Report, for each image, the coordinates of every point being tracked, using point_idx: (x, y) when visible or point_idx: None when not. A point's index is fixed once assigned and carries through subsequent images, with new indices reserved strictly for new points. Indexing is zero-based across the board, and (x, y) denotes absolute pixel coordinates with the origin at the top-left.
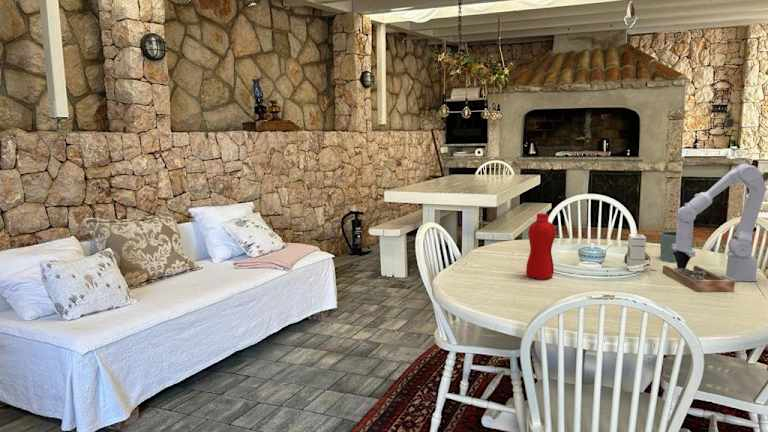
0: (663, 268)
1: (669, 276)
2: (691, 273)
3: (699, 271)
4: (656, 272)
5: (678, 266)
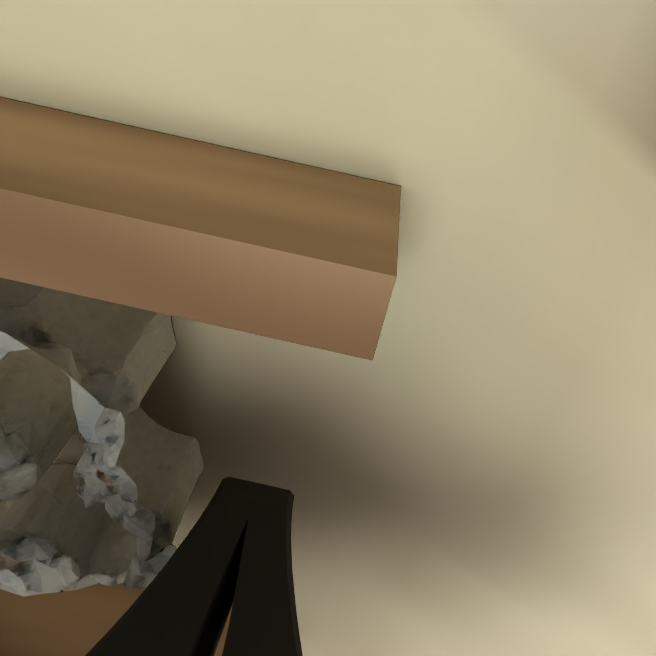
0: (356, 227)
1: (37, 108)
2: (21, 513)
3: (95, 642)
4: (481, 47)
5: (217, 539)
